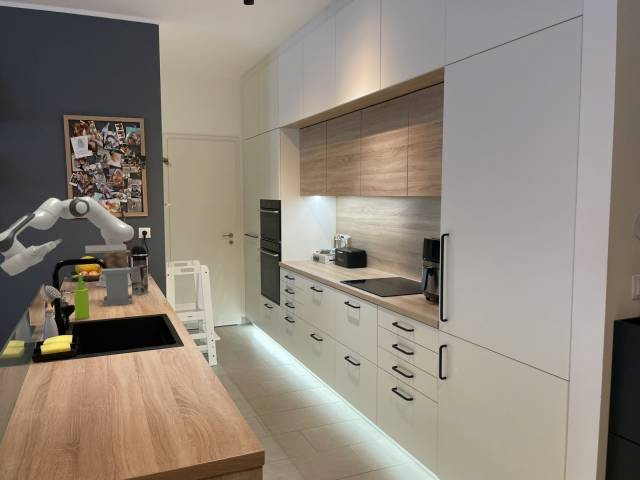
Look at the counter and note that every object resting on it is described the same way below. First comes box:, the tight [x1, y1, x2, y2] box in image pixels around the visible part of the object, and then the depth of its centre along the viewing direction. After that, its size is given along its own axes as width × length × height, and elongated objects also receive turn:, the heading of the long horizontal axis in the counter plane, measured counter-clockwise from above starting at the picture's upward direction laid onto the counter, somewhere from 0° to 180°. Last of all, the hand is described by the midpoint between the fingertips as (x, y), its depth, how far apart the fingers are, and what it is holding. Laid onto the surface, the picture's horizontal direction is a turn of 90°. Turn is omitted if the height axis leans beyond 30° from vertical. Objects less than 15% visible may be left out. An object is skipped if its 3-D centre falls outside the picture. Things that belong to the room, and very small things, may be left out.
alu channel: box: [84, 243, 128, 254], centre depth 267 cm, size 20×4×4 cm, turn 110°
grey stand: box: [100, 267, 133, 307], centre depth 260 cm, size 14×8×18 cm, turn 110°
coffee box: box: [130, 264, 149, 296], centre depth 286 cm, size 9×6×16 cm
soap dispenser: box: [71, 274, 90, 320], centre depth 229 cm, size 6×7×20 cm
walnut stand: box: [101, 249, 133, 300], centre depth 270 cm, size 14×8×26 cm, turn 110°
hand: (60, 240), depth 259 cm, fingers open, 8 cm apart
